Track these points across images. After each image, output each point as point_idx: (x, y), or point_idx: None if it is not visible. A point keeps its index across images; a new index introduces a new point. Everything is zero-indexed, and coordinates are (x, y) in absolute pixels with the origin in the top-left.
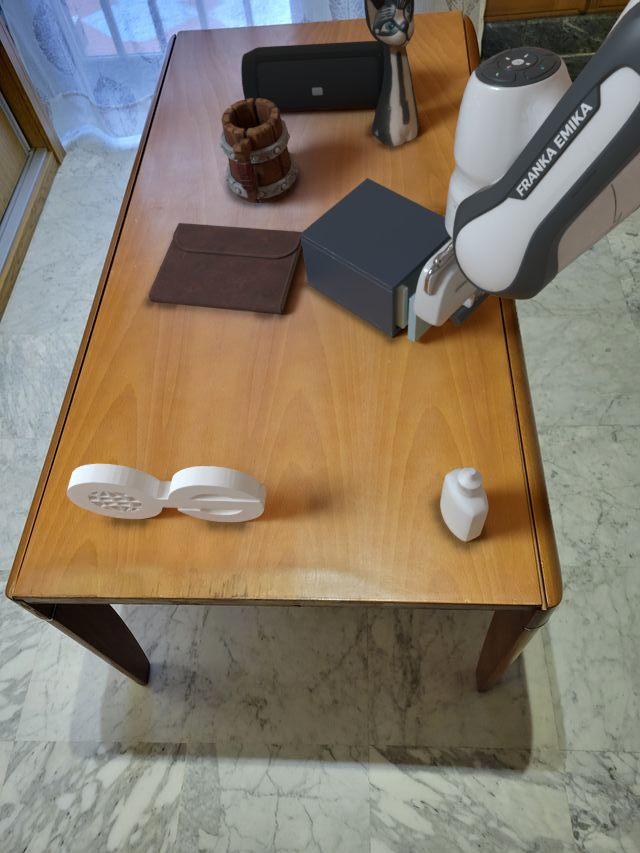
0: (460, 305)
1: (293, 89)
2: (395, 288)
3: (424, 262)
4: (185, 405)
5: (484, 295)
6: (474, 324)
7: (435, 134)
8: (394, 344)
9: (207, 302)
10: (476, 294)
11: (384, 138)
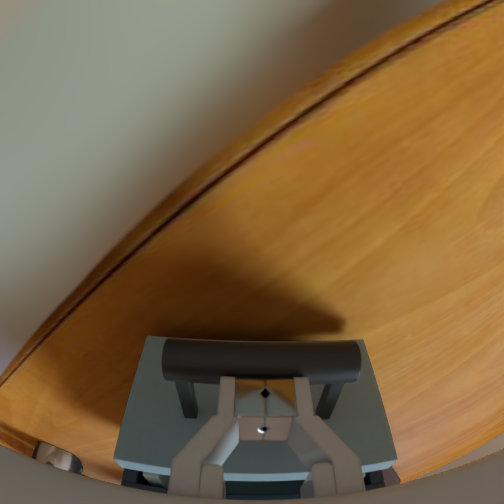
0: (478, 473)
1: None
2: (376, 488)
3: (265, 495)
4: (500, 408)
5: (215, 364)
6: (223, 273)
7: (25, 430)
8: (368, 352)
9: (392, 471)
10: (281, 417)
11: (77, 464)
